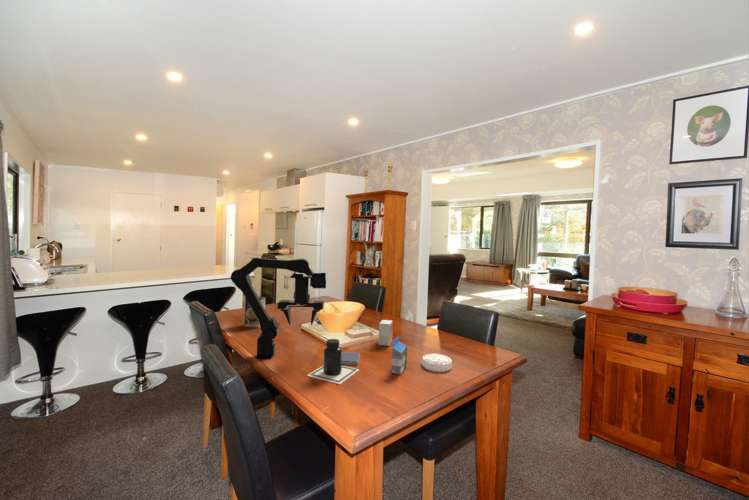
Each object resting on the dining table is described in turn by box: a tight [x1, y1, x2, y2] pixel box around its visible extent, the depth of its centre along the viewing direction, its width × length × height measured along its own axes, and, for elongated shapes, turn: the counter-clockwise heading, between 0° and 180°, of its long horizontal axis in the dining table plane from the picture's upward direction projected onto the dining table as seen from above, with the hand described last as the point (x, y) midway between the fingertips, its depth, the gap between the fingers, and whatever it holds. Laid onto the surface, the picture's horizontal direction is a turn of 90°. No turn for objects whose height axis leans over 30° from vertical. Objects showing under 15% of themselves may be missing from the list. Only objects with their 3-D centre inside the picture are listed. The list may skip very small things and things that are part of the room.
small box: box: [378, 319, 394, 347], centre depth 159 cm, size 8×6×10 cm
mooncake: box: [421, 352, 453, 373], centre depth 133 cm, size 12×12×4 cm
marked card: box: [306, 365, 360, 385], centre depth 123 cm, size 14×14×1 cm
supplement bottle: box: [322, 338, 343, 376], centre depth 122 cm, size 7×7×12 cm
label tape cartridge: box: [390, 335, 408, 376], centre depth 127 cm, size 9×4×12 cm, turn 160°
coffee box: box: [244, 296, 267, 329], centre depth 181 cm, size 9×6×16 cm
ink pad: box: [342, 351, 361, 366], centre depth 136 cm, size 11×11×1 cm
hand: (300, 324), depth 139 cm, fingers open, 9 cm apart
